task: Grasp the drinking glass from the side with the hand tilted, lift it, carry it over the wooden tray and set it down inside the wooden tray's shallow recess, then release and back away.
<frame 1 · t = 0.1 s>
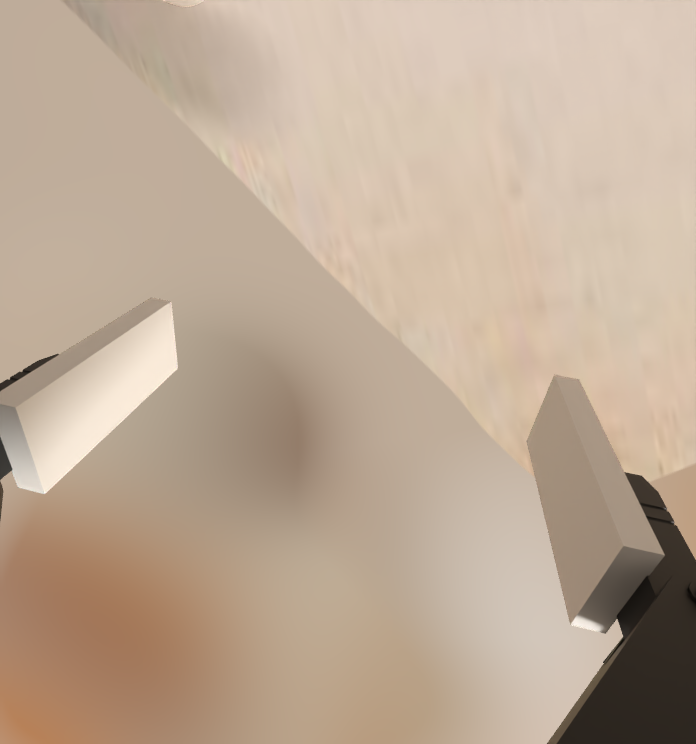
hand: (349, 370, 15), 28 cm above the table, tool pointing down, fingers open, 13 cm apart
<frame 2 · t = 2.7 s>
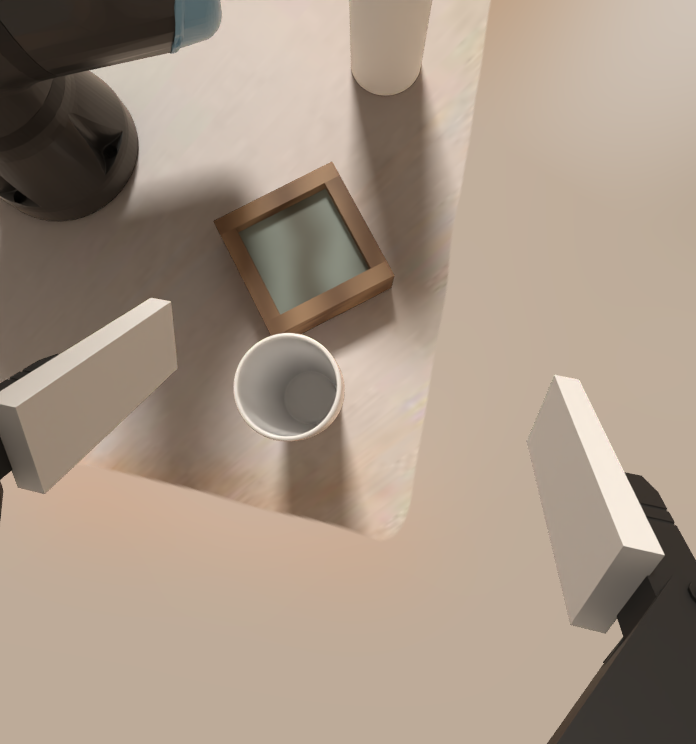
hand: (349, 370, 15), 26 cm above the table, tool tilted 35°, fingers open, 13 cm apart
wooden tray: (307, 262, 43), on the table
cylindrical container: (385, 64, 46), on the table
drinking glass: (313, 398, 42), on the table
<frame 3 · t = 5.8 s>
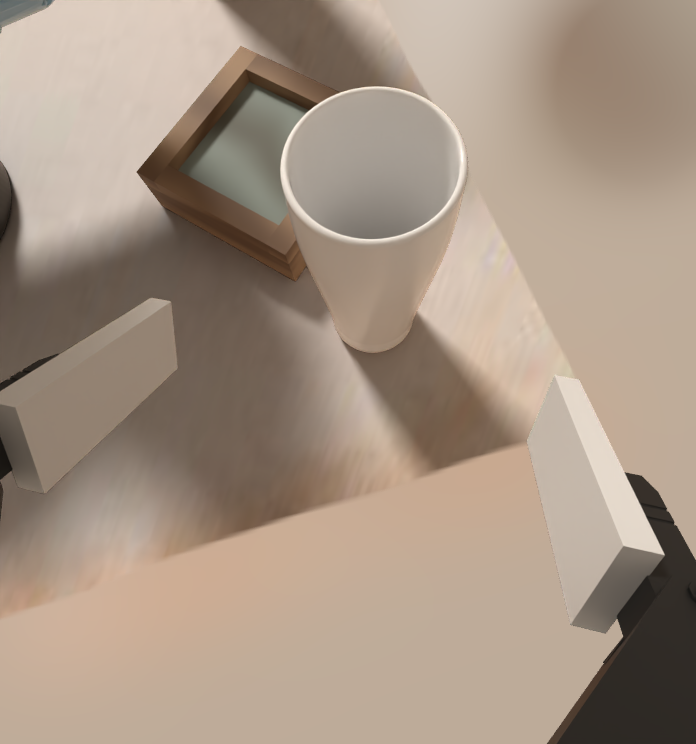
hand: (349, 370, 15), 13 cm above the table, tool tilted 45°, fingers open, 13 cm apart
wooden tray: (273, 179, 33), on the table
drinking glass: (373, 318, 30), on the table
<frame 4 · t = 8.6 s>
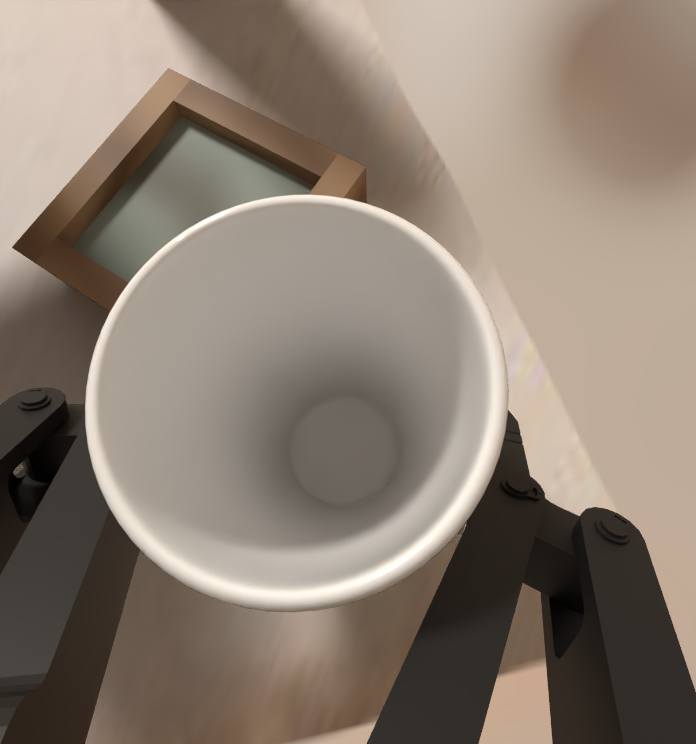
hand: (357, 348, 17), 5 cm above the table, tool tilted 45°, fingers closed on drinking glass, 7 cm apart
wooden tray: (215, 248, 24), on the table
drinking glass: (346, 452, 22), on the table, touching gripper
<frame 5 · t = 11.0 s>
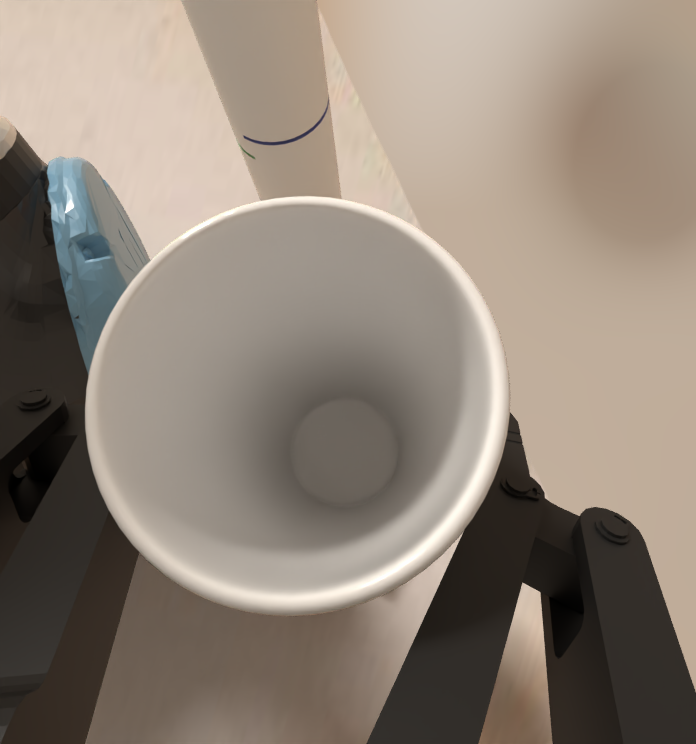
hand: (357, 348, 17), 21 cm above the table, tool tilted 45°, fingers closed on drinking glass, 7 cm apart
cylindrical container: (306, 215, 43), on the table
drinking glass: (346, 453, 21), point 15 cm above the table, touching gripper
when the fingers open (10 cm above the table, at t = 13.7 s): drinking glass drops 1 cm, resting on wooden tray.
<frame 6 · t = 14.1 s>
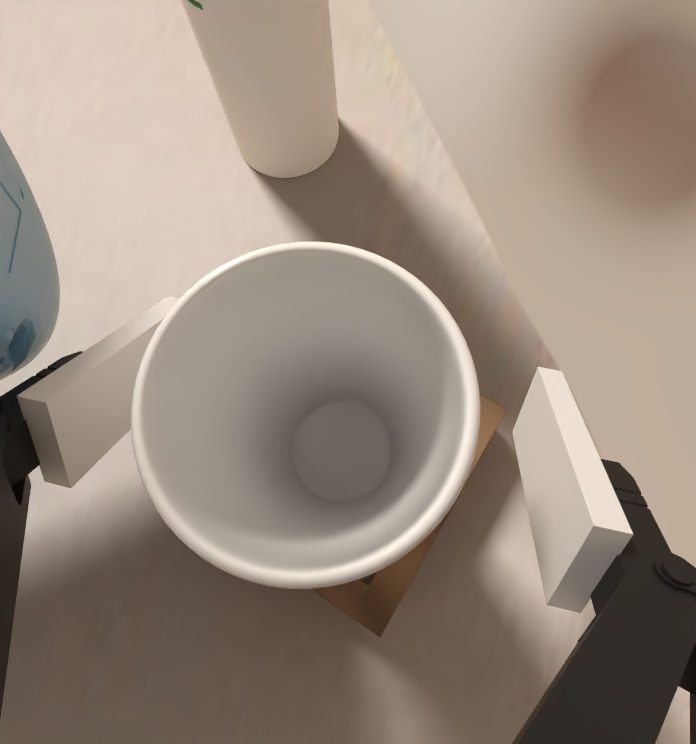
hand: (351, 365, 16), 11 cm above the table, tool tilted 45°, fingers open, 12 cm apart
wooden tray: (342, 453, 25), on the table
cylindrical container: (288, 136, 31), on the table
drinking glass: (344, 451, 23), point 3 cm above the table, touching wooden tray
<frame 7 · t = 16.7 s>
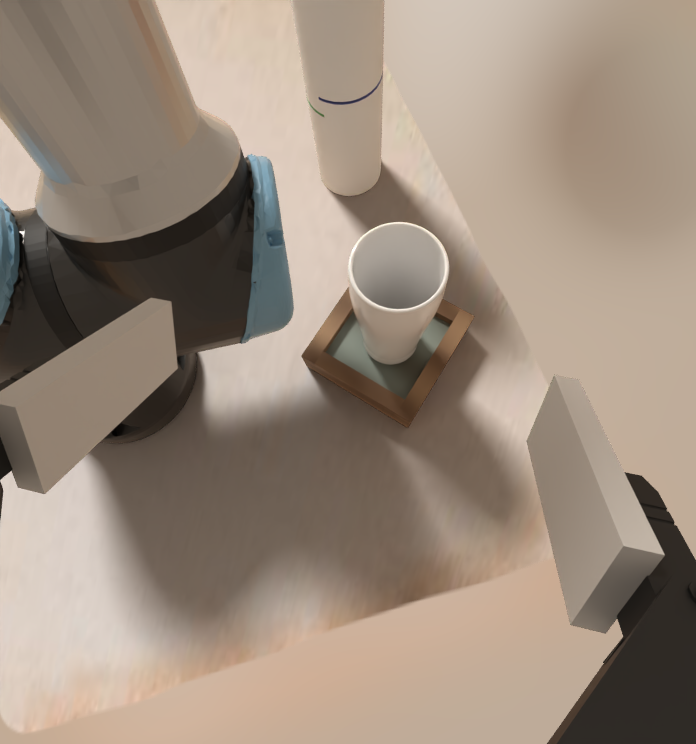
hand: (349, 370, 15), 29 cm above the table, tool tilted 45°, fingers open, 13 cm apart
wooden tray: (387, 348, 46), on the table
cylindrical container: (350, 170, 52), on the table
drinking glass: (390, 340, 44), point 3 cm above the table, touching wooden tray
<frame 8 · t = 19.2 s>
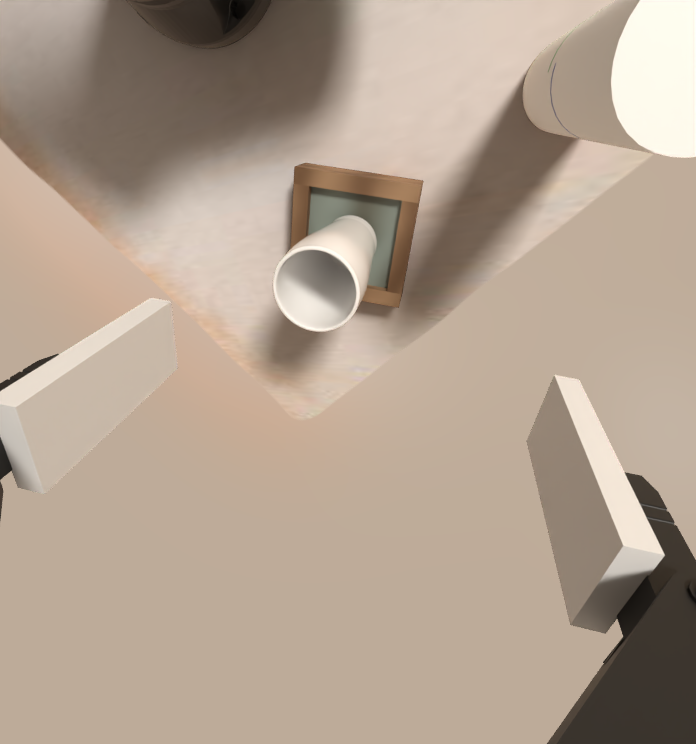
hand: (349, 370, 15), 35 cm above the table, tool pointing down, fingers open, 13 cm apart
wooden tray: (356, 232, 48), on the table
cylindrical container: (566, 86, 38), on the table
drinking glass: (352, 240, 45), point 3 cm above the table, touching wooden tray
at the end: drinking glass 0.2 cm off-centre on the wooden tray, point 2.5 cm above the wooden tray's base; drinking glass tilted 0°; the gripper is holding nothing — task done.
